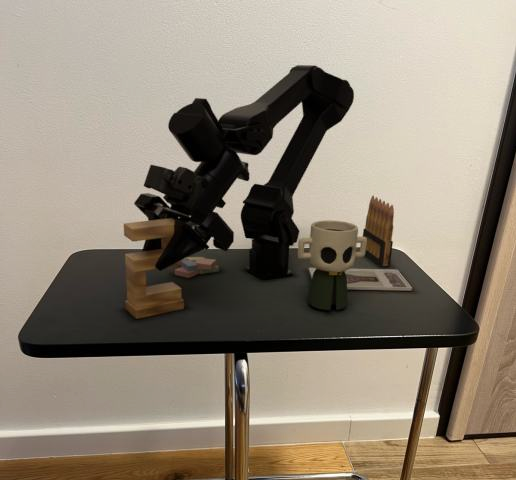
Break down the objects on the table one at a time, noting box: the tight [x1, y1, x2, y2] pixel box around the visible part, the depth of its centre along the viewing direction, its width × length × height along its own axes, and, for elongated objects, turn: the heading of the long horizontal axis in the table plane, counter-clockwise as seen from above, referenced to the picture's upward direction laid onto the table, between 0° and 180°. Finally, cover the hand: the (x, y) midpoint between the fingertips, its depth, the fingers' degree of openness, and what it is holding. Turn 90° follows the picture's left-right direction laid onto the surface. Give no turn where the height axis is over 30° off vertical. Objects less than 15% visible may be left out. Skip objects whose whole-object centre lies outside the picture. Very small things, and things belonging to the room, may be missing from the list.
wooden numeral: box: [123, 218, 185, 320], centre depth 80 cm, size 8×4×13 cm, turn 126°
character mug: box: [297, 219, 367, 311], centre depth 84 cm, size 11×7×13 cm, turn 101°
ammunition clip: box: [362, 195, 395, 268], centre depth 108 cm, size 11×2×12 cm, turn 13°
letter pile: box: [174, 256, 220, 279], centre depth 100 cm, size 8×6×2 cm
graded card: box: [308, 267, 413, 292], centre depth 98 cm, size 10×1×17 cm
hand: (149, 265), depth 80 cm, fingers closed on wooden numeral, 4 cm apart
